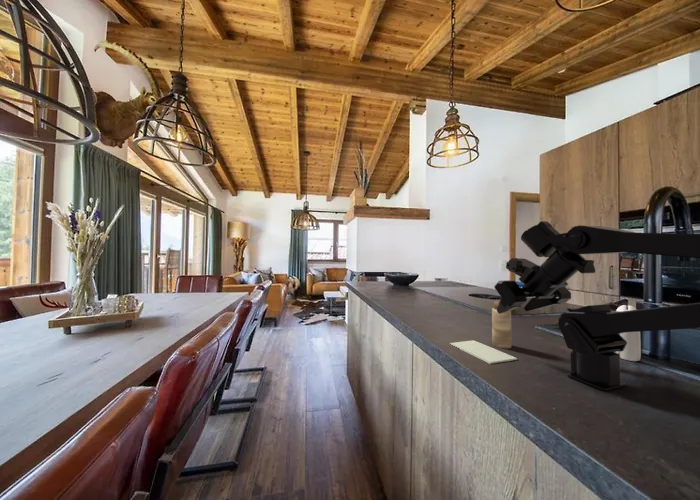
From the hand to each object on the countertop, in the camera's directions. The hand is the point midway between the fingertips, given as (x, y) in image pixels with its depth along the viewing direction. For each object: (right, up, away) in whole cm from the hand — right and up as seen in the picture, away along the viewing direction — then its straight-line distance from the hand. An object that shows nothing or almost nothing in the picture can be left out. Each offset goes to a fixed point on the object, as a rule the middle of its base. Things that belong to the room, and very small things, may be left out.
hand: (512, 311), depth 71 cm
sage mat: (-9, -10, -2) cm, 14 cm away
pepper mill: (-1, -10, +3) cm, 11 cm away
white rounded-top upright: (+26, -10, -4) cm, 29 cm away
